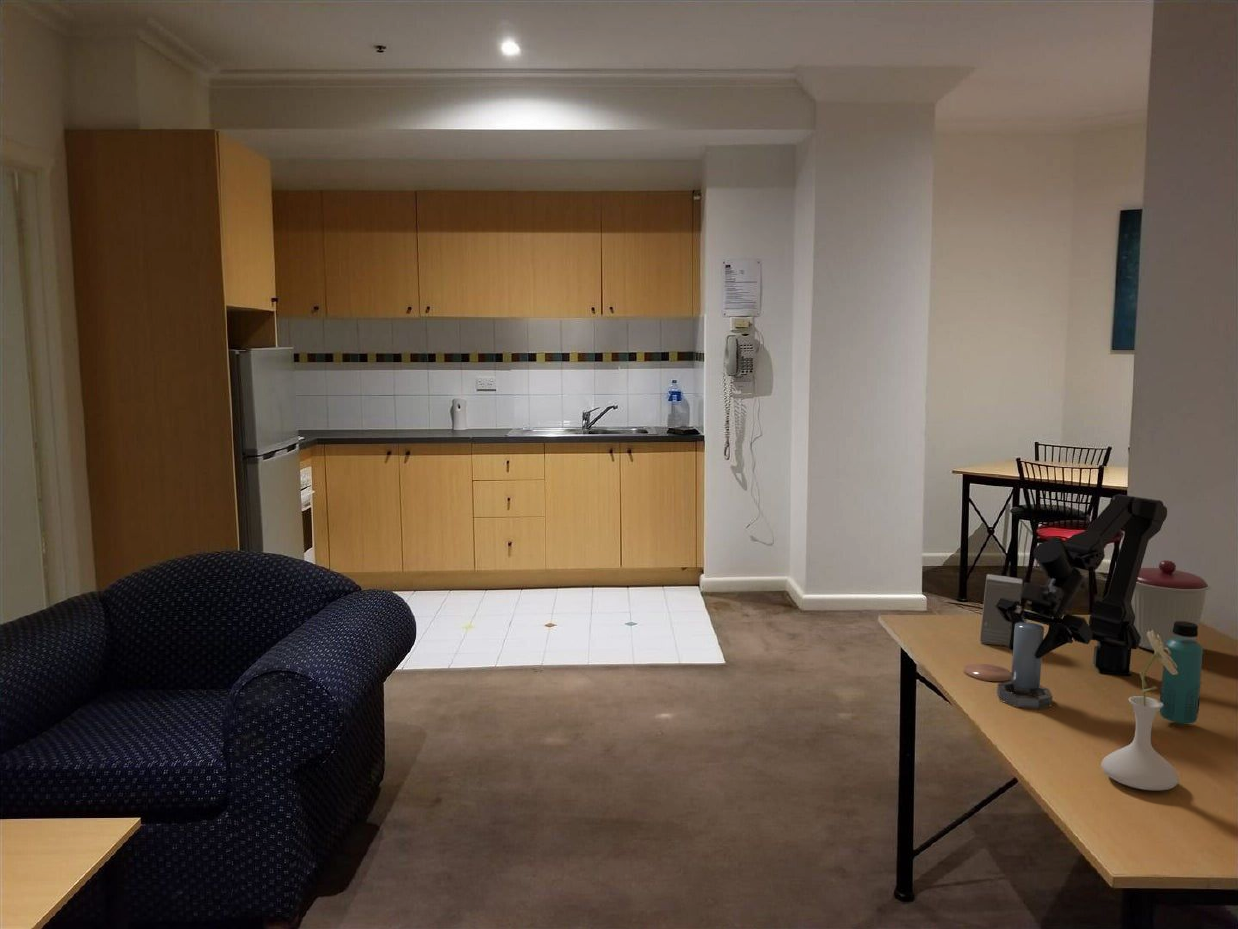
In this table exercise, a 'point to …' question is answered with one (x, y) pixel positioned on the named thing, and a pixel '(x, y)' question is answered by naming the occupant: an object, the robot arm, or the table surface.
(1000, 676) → the terracotta coaster
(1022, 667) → the blue-grey cylinder
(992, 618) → the skincare box
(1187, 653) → the beverage bottle
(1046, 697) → the dark grey octagonal ring
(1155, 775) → the flower in vase
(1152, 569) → the canister
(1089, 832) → the table surface
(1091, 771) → the table surface
